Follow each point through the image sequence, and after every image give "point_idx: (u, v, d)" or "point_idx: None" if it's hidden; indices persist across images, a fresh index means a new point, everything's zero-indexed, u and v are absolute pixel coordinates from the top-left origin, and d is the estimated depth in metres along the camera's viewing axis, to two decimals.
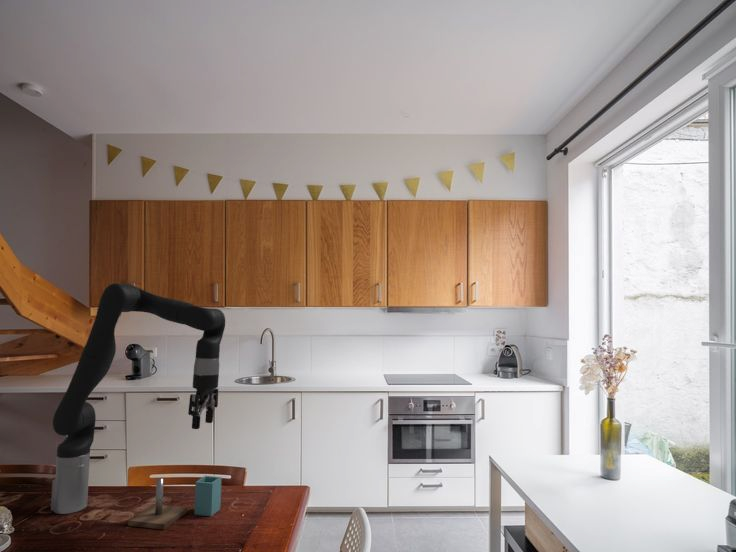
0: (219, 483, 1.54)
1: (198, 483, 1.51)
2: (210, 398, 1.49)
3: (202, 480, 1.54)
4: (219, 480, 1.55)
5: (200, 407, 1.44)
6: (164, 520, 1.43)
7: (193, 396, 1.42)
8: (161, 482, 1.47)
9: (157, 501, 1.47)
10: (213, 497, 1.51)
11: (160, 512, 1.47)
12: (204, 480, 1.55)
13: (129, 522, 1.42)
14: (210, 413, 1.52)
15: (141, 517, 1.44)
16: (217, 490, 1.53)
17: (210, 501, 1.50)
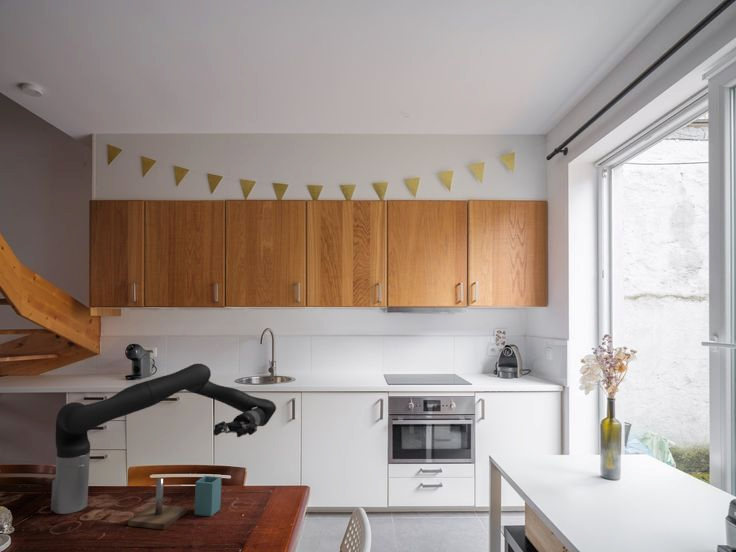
0: (219, 483, 1.54)
1: (198, 483, 1.51)
2: None
3: (202, 480, 1.54)
4: (219, 480, 1.55)
5: None
6: (164, 520, 1.43)
7: (256, 427, 1.74)
8: (161, 482, 1.47)
9: (157, 501, 1.47)
10: (213, 497, 1.51)
11: (160, 512, 1.47)
12: (204, 480, 1.55)
13: (129, 522, 1.42)
14: (220, 431, 1.69)
15: (141, 517, 1.44)
16: (217, 490, 1.53)
17: (210, 501, 1.50)
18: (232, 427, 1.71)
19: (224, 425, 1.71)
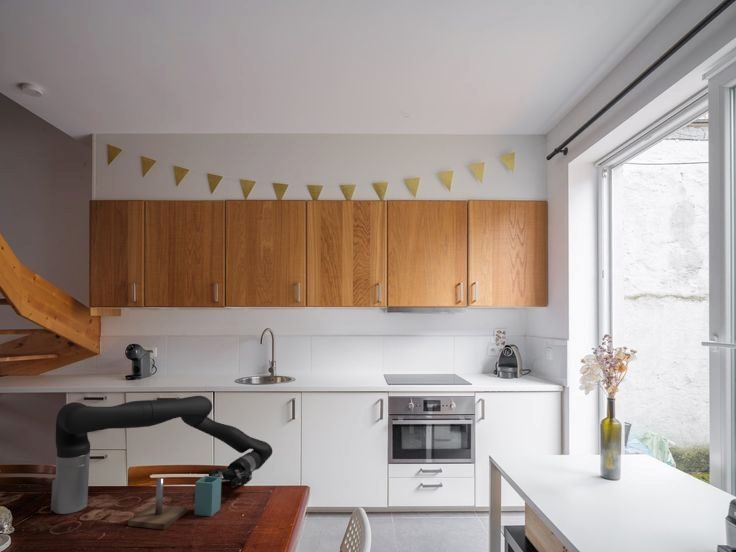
0: (219, 483, 1.54)
1: (198, 483, 1.51)
2: None
3: (202, 480, 1.54)
4: (219, 480, 1.55)
5: None
6: (164, 520, 1.43)
7: (251, 475, 1.70)
8: (161, 482, 1.47)
9: (157, 501, 1.47)
10: (213, 497, 1.51)
11: (160, 512, 1.47)
12: (204, 480, 1.55)
13: (129, 522, 1.42)
14: None
15: (141, 517, 1.44)
16: (217, 490, 1.53)
17: (210, 501, 1.50)
18: (226, 475, 1.68)
19: (218, 473, 1.67)
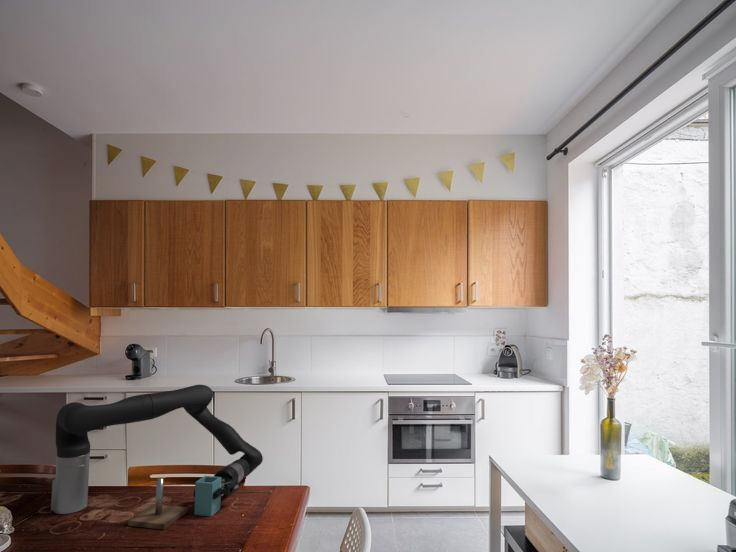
0: (219, 483, 1.54)
1: (198, 483, 1.51)
2: None
3: (202, 480, 1.54)
4: (219, 480, 1.55)
5: None
6: (164, 520, 1.43)
7: None
8: (161, 482, 1.47)
9: (157, 501, 1.47)
10: None
11: (160, 512, 1.47)
12: (204, 480, 1.55)
13: (129, 522, 1.42)
14: None
15: (141, 517, 1.44)
16: None
17: (210, 501, 1.50)
18: None
19: None
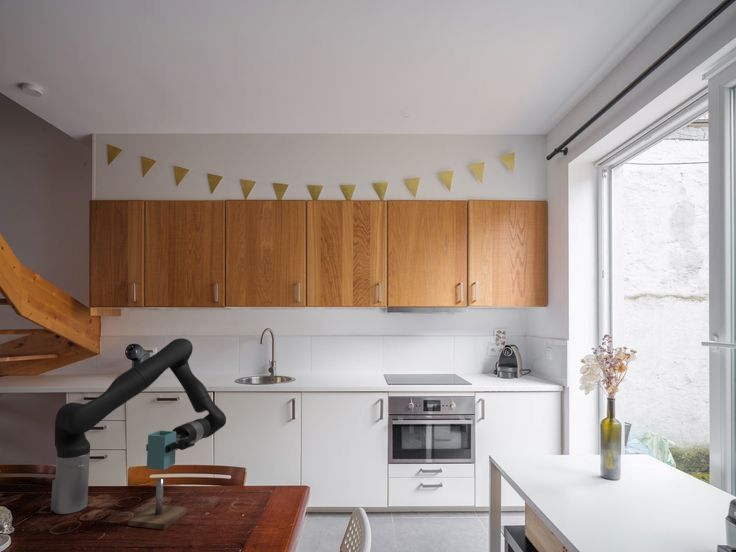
0: (173, 437, 1.50)
1: (151, 436, 1.46)
2: None
3: (156, 434, 1.49)
4: (173, 434, 1.50)
5: None
6: (164, 520, 1.43)
7: (194, 441, 1.54)
8: (161, 482, 1.47)
9: (157, 501, 1.47)
10: None
11: (160, 512, 1.47)
12: (158, 434, 1.51)
13: (129, 522, 1.42)
14: None
15: (141, 517, 1.44)
16: None
17: (162, 454, 1.45)
18: None
19: None
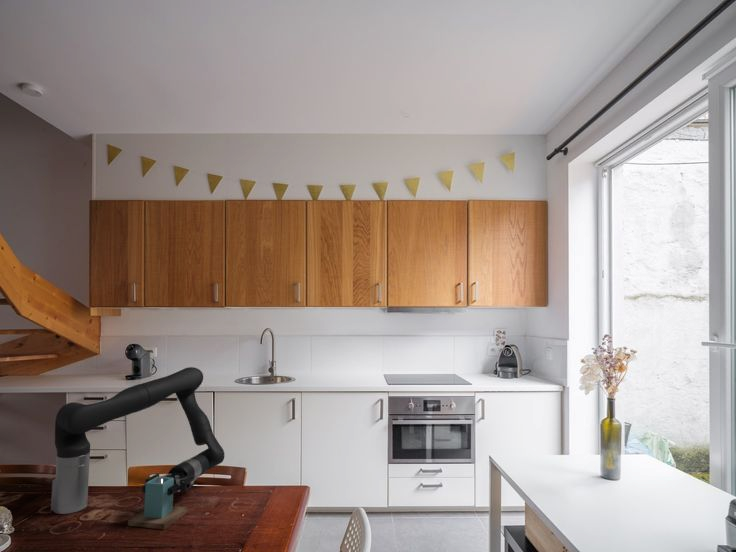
0: (171, 483, 1.49)
1: (148, 484, 1.45)
2: None
3: (153, 481, 1.48)
4: (171, 481, 1.49)
5: None
6: (164, 520, 1.43)
7: (193, 481, 1.54)
8: (161, 482, 1.47)
9: None
10: (163, 498, 1.45)
11: None
12: (156, 481, 1.50)
13: (129, 522, 1.42)
14: None
15: (141, 517, 1.44)
16: None
17: (160, 503, 1.44)
18: None
19: None
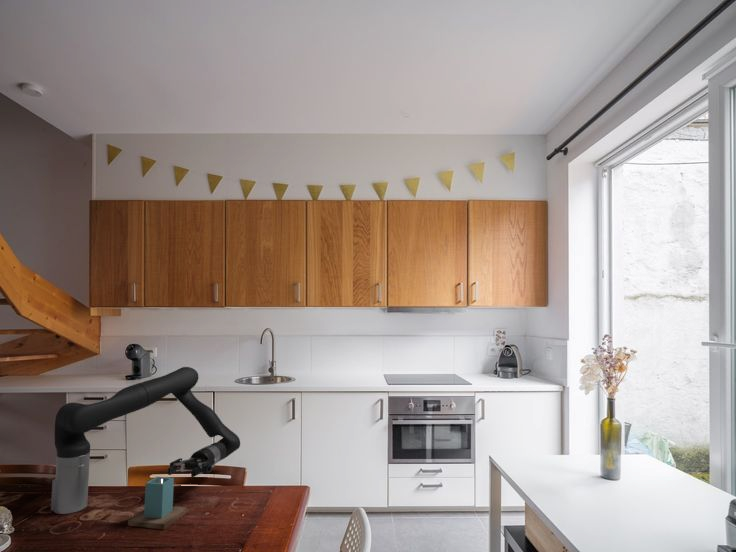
0: (171, 483, 1.49)
1: (148, 484, 1.45)
2: None
3: (153, 481, 1.48)
4: (171, 481, 1.49)
5: None
6: (164, 520, 1.43)
7: (214, 464, 1.67)
8: (161, 482, 1.47)
9: None
10: (163, 498, 1.45)
11: None
12: (156, 481, 1.50)
13: (129, 522, 1.42)
14: (174, 470, 1.62)
15: (141, 517, 1.44)
16: (169, 491, 1.48)
17: (160, 503, 1.44)
18: (188, 465, 1.65)
19: (180, 463, 1.65)
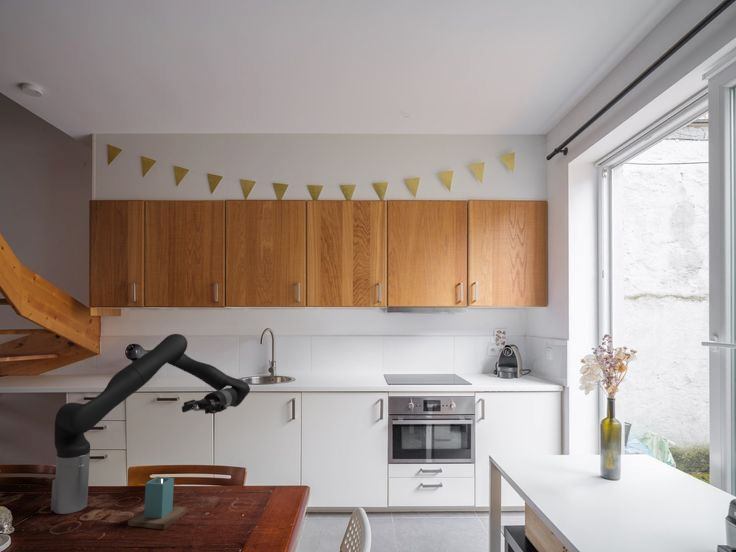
0: (171, 483, 1.49)
1: (148, 484, 1.45)
2: (203, 409, 1.72)
3: (153, 481, 1.48)
4: (171, 481, 1.49)
5: None
6: (164, 520, 1.43)
7: (226, 404, 1.72)
8: (161, 482, 1.47)
9: None
10: (163, 498, 1.45)
11: None
12: (156, 481, 1.50)
13: (129, 522, 1.42)
14: (188, 408, 1.67)
15: (141, 517, 1.44)
16: (169, 491, 1.48)
17: (160, 503, 1.44)
18: (201, 405, 1.70)
19: (193, 402, 1.70)
